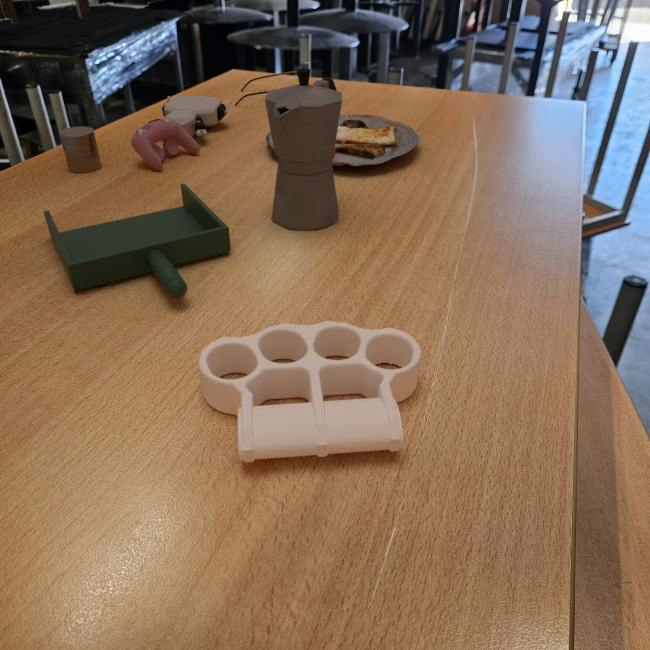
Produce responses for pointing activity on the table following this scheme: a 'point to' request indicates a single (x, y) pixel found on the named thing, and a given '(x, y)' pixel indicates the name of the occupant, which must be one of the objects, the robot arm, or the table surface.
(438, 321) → the table surface
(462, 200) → the table surface
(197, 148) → the pink curved piece
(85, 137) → the metal canister
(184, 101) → the robot toy
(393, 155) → the food plate
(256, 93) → the sunglasses
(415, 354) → the white brass knuckles
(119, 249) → the scoop
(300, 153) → the coffeepot
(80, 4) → the robot arm
